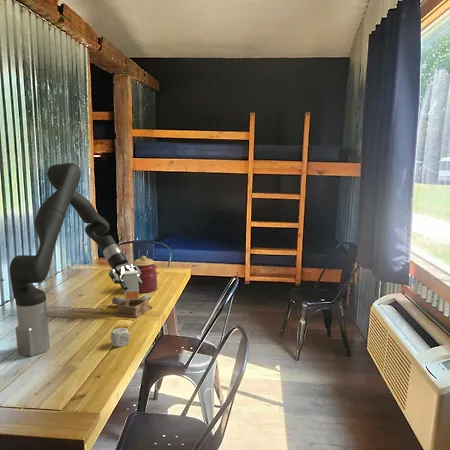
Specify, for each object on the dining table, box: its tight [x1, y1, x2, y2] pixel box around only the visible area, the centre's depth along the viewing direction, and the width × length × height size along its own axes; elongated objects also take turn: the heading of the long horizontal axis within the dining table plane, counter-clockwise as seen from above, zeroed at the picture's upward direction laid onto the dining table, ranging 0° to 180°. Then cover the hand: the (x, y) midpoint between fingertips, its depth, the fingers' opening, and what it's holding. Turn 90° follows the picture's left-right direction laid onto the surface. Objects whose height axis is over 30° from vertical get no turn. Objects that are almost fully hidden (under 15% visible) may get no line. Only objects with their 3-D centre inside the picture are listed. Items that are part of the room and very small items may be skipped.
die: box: [110, 327, 131, 348], centre depth 139 cm, size 5×5×5 cm
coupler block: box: [111, 293, 153, 319], centre depth 173 cm, size 18×18×4 cm
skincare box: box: [123, 270, 140, 301], centre depth 168 cm, size 6×4×12 cm
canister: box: [131, 255, 158, 294], centre depth 199 cm, size 13×13×18 cm
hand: (133, 287), depth 167 cm, fingers closed on skincare box, 7 cm apart
